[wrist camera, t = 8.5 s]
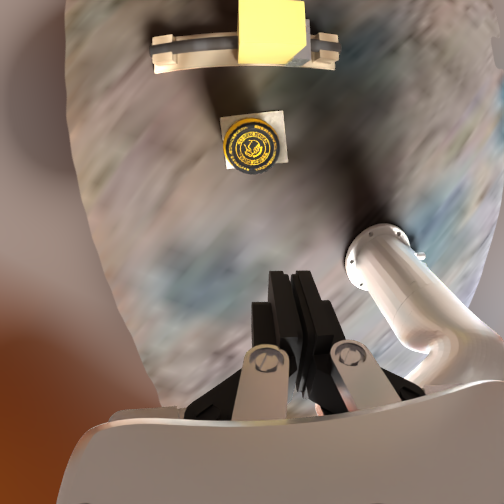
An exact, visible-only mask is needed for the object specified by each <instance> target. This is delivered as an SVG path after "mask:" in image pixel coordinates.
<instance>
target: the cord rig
mask: <svg viewBox="0 0 504 504" xmlns="http://www.w3.org/2000/svg"><path fill="white" fill-rule="evenodd" d="M310 43H311V60H310V61H308V62H307V63H305V64H304V65H302V66H301V67H305V68H317V69H327V70H335V61H338V60H339V55H340V53H341V43H340V42H338V35H334V34H327V33H318V34H317V35H310ZM149 51H150V56H151V58H153V64H154V73H156V74H157V73H164V72H171V71H178V70H187V69H197V68H209V67H224V66H284V64H238V36H237V32H223V33H208V34H197V35H188V36H180V37H174V36H173V35H172V34H170V35H164V36H158V37H153V45H150V49H149Z"/></svg>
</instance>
